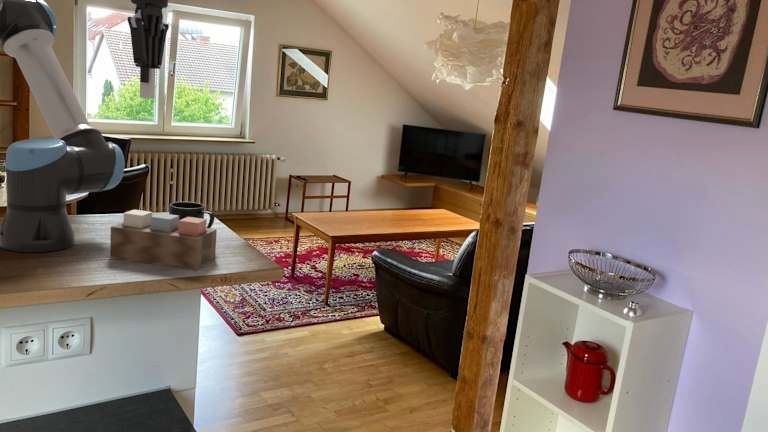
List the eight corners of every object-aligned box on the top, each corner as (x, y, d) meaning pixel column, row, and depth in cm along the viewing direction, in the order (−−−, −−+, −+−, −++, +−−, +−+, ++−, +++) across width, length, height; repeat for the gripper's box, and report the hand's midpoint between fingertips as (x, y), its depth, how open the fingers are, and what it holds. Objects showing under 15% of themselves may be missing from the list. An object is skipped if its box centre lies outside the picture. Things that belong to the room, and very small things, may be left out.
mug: (199, 251, 150) (201, 212, 148) (160, 242, 155) (162, 204, 153) (221, 245, 158) (223, 208, 156) (184, 236, 162) (185, 200, 160)
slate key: (150, 247, 140) (151, 216, 139) (160, 242, 145) (160, 213, 143) (168, 250, 140) (169, 219, 138) (178, 245, 144) (179, 215, 143)
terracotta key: (177, 251, 140) (179, 220, 138) (186, 246, 144) (188, 216, 142) (196, 254, 139) (198, 223, 138) (205, 249, 143) (206, 219, 142)
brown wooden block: (110, 257, 139) (110, 226, 138) (134, 246, 149) (135, 217, 148) (196, 270, 137) (197, 239, 135) (215, 258, 146) (216, 229, 145)
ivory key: (122, 243, 141) (123, 213, 140) (133, 239, 146) (134, 209, 144) (141, 246, 141) (142, 215, 139) (151, 241, 145) (152, 211, 144)
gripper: (149, -18, 129) (146, 100, 134) (180, -8, 141) (177, 99, 146) (116, -20, 130) (114, 96, 135) (150, -10, 143) (147, 96, 147)
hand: (147, 97), depth 141 cm, fingers closed
